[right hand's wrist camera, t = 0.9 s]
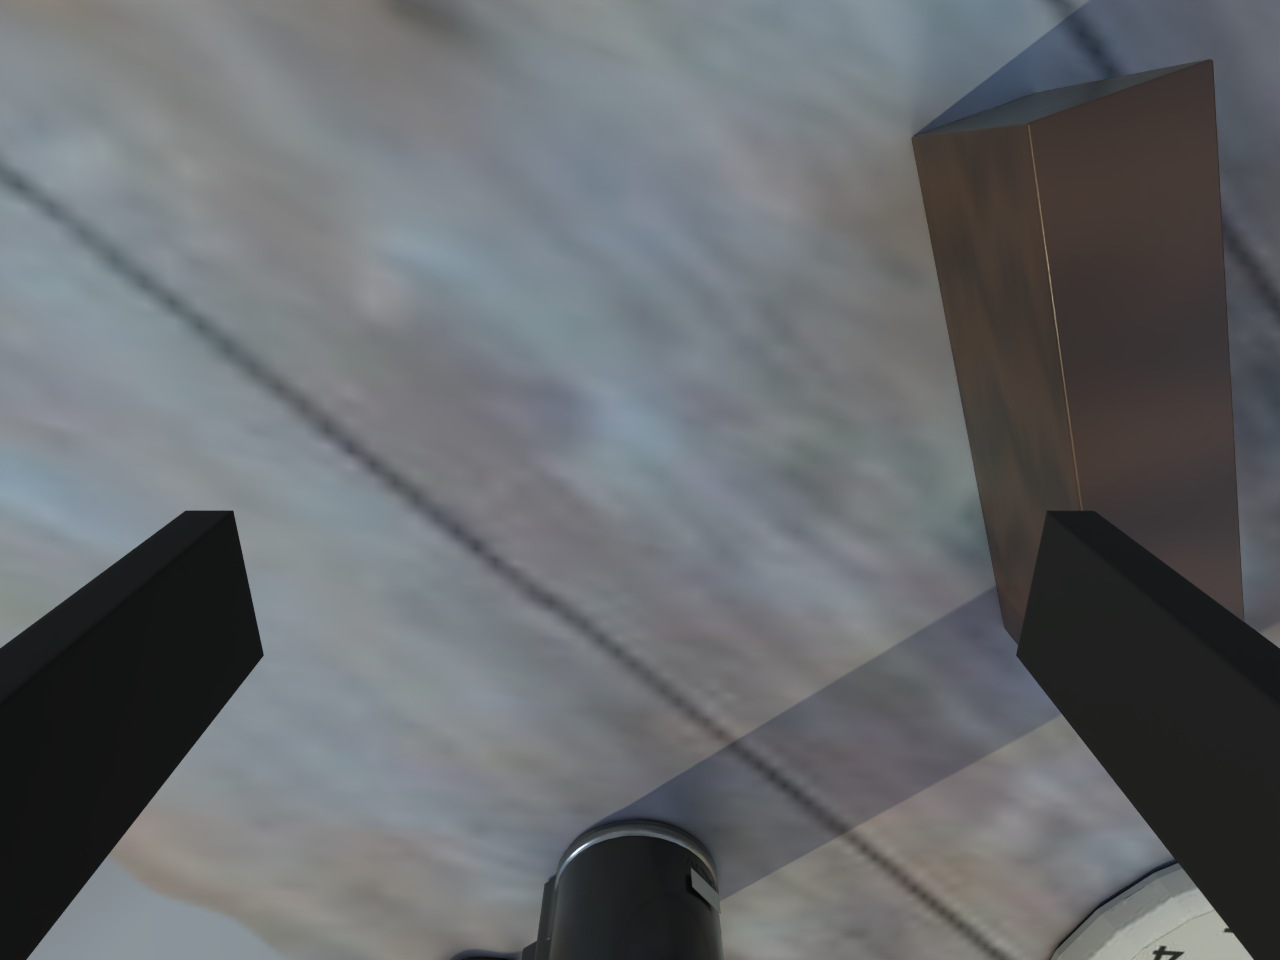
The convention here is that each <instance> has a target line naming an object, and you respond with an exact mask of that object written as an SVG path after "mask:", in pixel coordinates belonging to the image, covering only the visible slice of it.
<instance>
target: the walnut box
mask: <svg viewBox="0 0 1280 960" xmlns="http://www.w3.org/2000/svg"><path fill="white" fill-rule="evenodd" d="M912 143H913V148H914V154H915V159H916V164H917V169H918V175H919V180H920V185H921V191H922V196H923V201H924V206H925V212H926V217H927V222H928V227H929V233H930V238H931V243H932V248H933V254H934V259H935V264H936V270H937V275H938V280H939V285H940V291H941V296H942V301H943V306H944V312H945V317H946V322H947V327H948V333H949V338H950V343H951V349H952V354H953V359H954V364H955V370H956V375H957V380H958V385H959V391H960V396H961V401H962V406H963V412H964V417H965V422H966V428H967V433H968V438H969V443H970V449H971V454H972V459H973V464H974V470H975V475H976V480H977V486H978V491H979V496H980V501H981V507H982V512H983V517H984V522H985V528H986V533H987V538H988V543H989V549H990V554H991V559H992V565H993V570H994V575H995V580H996V586H997V591H998V596H999V601H1000V607H1001V612H1002V617H1003V622H1004V628H1005V629H1006V631H1007V632H1008V633H1009V634H1010V636H1011V637H1012V638H1013V639H1014V641H1015V642H1016V643H1017V644H1018V645H1019V640H1020V636H1021V631H1022V626H1023V621H1024V617H1025V612H1026V607H1027V602H1028V598H1029V593H1030V588H1031V583H1032V579H1033V574H1034V569H1035V564H1036V560H1037V555H1038V550H1039V545H1040V541H1041V536H1042V531H1043V526H1044V522H1045V517H1046V512H1047V511H1095V512H1097V513H1098V514H1099V515H1101V516H1102V517H1103V518H1105V519H1106V520H1107V521H1109V522H1110V523H1111V524H1113V525H1114V526H1116V527H1117V528H1118V529H1120V530H1121V531H1122V532H1124V533H1125V534H1126V535H1128V536H1129V537H1130V538H1132V539H1133V540H1134V541H1136V542H1137V543H1138V544H1140V545H1141V546H1142V547H1144V548H1145V549H1146V550H1148V551H1149V552H1151V553H1152V554H1153V555H1155V556H1156V557H1157V558H1159V559H1160V560H1161V561H1163V562H1164V563H1165V564H1167V565H1168V566H1169V567H1171V568H1172V569H1173V570H1175V571H1176V572H1177V573H1179V574H1180V575H1181V576H1183V577H1184V578H1185V579H1187V580H1188V581H1190V582H1191V583H1192V584H1194V585H1195V586H1196V587H1198V588H1199V589H1200V590H1202V591H1203V592H1204V593H1206V594H1207V595H1208V596H1210V597H1211V598H1212V599H1214V600H1215V601H1216V602H1218V603H1219V604H1220V605H1222V606H1223V607H1225V608H1226V609H1227V610H1229V611H1230V612H1231V613H1233V614H1234V615H1235V616H1237V617H1238V618H1239V619H1241V620H1242V621H1243V622H1244V609H1243V591H1242V573H1241V556H1240V538H1239V520H1238V502H1237V484H1236V466H1235V448H1234V430H1233V412H1232V394H1231V376H1230V359H1229V341H1228V323H1227V305H1226V287H1225V269H1224V251H1223V233H1222V215H1221V197H1220V180H1219V162H1218V144H1217V126H1216V108H1215V90H1214V72H1213V61H1212V60H1210V59H1208V60H1203V61H1198V62H1193V63H1187V64H1182V65H1177V66H1172V67H1167V68H1162V69H1156V70H1151V71H1146V72H1141V73H1136V74H1131V75H1125V76H1120V77H1115V78H1110V79H1105V80H1099V81H1094V82H1089V83H1084V84H1079V85H1074V86H1068V87H1063V88H1058V89H1053V90H1048V91H1043V92H1037V93H1034V94H1031V95H1028V96H1026V97H1023V98H1020V99H1017V100H1014V101H1011V102H1009V103H1006V104H1003V105H1000V106H997V107H994V108H992V109H989V110H986V111H983V112H980V113H978V114H975V115H972V116H969V117H966V118H963V119H961V120H958V121H955V122H952V123H949V124H946V125H944V126H941V127H938V128H935V129H932V130H929V131H927V132H924V133H921V134H918V135H915V136H913V137H912Z"/></svg>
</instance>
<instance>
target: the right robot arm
mask: <svg viewBox="0 0 1280 960" xmlns="http://www.w3.org/2000/svg"><path fill="white" fill-rule="evenodd" d="M263 656H264V655H263V650H262V645H261V640H260V636H259V631H258V626H257V621H256V617H255V612H254V607H253V602H252V598H251V593H250V588H249V583H248V579H247V574H246V569H245V564H244V560H243V555H242V550H241V545H240V541H239V536H238V531H237V526H236V522H235V517H234V512H233V511H185V512H183V513H182V514H181V515H179V516H178V517H177V518H175V519H174V520H173V521H171V522H170V523H169V524H167V525H166V526H164V527H163V528H162V529H160V530H159V531H158V532H156V533H155V534H154V535H152V536H151V537H150V538H148V539H147V540H146V541H144V542H143V543H142V544H140V545H139V546H138V547H136V548H135V549H134V550H132V551H131V552H129V553H128V554H127V555H125V556H124V557H123V558H121V559H120V560H119V561H117V562H116V563H115V564H113V565H112V566H111V567H109V568H108V569H107V570H105V571H104V572H103V573H101V574H100V575H99V576H97V577H96V578H95V579H93V580H92V581H90V582H89V583H88V584H86V585H85V586H84V587H82V588H81V589H80V590H78V591H77V592H76V593H74V594H73V595H72V596H70V597H69V598H68V599H66V600H65V601H64V602H62V603H61V604H60V605H58V606H57V607H55V608H54V609H53V610H51V611H50V612H49V613H47V614H46V615H45V616H43V617H42V618H41V619H39V620H38V621H37V622H35V623H34V624H33V625H31V626H30V627H29V628H27V629H26V630H25V631H23V632H22V633H20V634H19V635H18V636H16V637H15V638H14V639H12V640H11V641H10V642H8V643H7V644H6V645H4V646H3V647H2V648H0V960H26V959H27V958H28V957H29V956H30V954H31V953H32V952H33V950H34V949H35V948H36V947H37V945H38V944H39V943H40V941H41V940H42V939H43V938H44V936H45V935H46V934H47V932H48V931H49V930H50V929H51V927H52V926H53V925H54V923H55V922H56V921H57V920H58V918H59V917H60V916H61V915H62V913H63V912H64V911H65V909H66V908H67V907H68V906H69V904H70V903H71V902H72V900H73V899H74V898H75V897H76V895H77V894H78V893H79V891H80V890H81V889H82V888H83V886H84V885H85V884H86V883H87V881H88V880H89V879H90V877H91V876H92V875H93V873H94V872H95V871H96V870H97V868H98V867H99V866H100V865H101V863H102V862H103V861H104V859H105V858H106V857H107V856H108V854H109V853H110V852H111V850H112V849H113V848H114V847H115V845H116V844H117V843H118V841H119V840H120V839H121V838H122V836H123V835H124V834H125V833H126V831H127V830H128V829H129V827H130V826H131V825H132V824H133V822H134V821H135V820H136V818H137V817H138V816H139V815H140V813H141V812H142V811H143V809H144V808H145V807H146V806H147V804H148V803H149V802H150V800H151V799H152V798H153V797H154V795H155V794H156V793H157V792H158V790H159V789H160V788H161V786H162V785H163V784H164V783H165V781H166V780H167V779H168V777H169V776H170V775H171V774H172V772H173V771H174V770H175V768H176V767H177V766H178V765H179V763H180V762H181V761H182V759H183V758H184V757H185V756H186V754H187V753H188V752H189V750H190V749H191V748H192V747H193V745H194V744H195V743H196V742H197V740H198V739H199V738H200V736H201V735H202V734H203V733H204V731H205V730H206V729H207V727H208V726H209V725H210V724H211V722H212V721H213V720H214V718H215V717H216V716H217V715H218V713H219V712H220V711H221V709H222V708H223V707H224V706H225V704H226V703H227V702H228V701H229V699H230V698H231V697H232V695H233V694H234V693H235V692H236V690H237V689H238V688H239V686H240V685H241V684H242V683H243V681H244V680H245V679H246V677H247V676H248V675H249V674H250V672H251V671H252V670H253V668H254V667H255V666H256V665H257V663H258V662H259V661H260V659H261V658H262V657H263ZM1016 656H1017V657H1018V658H1019V659H1020V661H1021V662H1022V663H1023V665H1024V666H1025V667H1026V668H1027V670H1028V671H1029V672H1030V674H1031V675H1032V676H1033V677H1034V679H1035V680H1036V681H1037V683H1038V684H1039V685H1040V686H1041V688H1042V689H1043V690H1044V692H1045V693H1046V694H1047V695H1048V697H1049V698H1050V699H1051V701H1052V702H1053V703H1054V704H1055V706H1056V707H1057V708H1058V709H1059V711H1060V712H1061V713H1062V715H1063V716H1064V717H1065V718H1066V720H1067V721H1068V722H1069V724H1070V725H1071V726H1072V727H1073V729H1074V730H1075V731H1076V733H1077V734H1078V735H1079V736H1080V738H1081V739H1082V740H1083V742H1084V743H1085V744H1086V745H1087V747H1088V748H1089V749H1090V750H1091V752H1092V753H1093V754H1094V756H1095V757H1096V758H1097V759H1098V761H1099V762H1100V763H1101V765H1102V766H1103V767H1104V768H1105V770H1106V771H1107V772H1108V774H1109V775H1110V776H1111V777H1112V779H1113V780H1114V781H1115V783H1116V784H1117V785H1118V786H1119V788H1120V789H1121V790H1122V792H1123V793H1124V794H1125V795H1126V797H1127V798H1128V799H1129V800H1130V802H1131V803H1132V804H1133V806H1134V807H1135V808H1136V809H1137V811H1138V812H1139V813H1140V815H1141V816H1142V817H1143V818H1144V820H1145V821H1146V822H1147V824H1148V825H1149V826H1150V827H1151V829H1152V830H1153V831H1154V833H1155V834H1156V835H1157V836H1158V838H1159V839H1160V840H1161V841H1162V843H1163V844H1164V845H1165V847H1166V848H1167V849H1168V850H1169V852H1170V853H1171V854H1172V856H1173V857H1174V858H1175V859H1176V861H1177V862H1178V863H1179V865H1180V866H1181V867H1182V868H1183V870H1184V871H1185V872H1186V874H1187V875H1188V876H1189V877H1190V879H1191V880H1192V881H1193V883H1194V884H1195V885H1196V886H1197V888H1198V889H1199V890H1200V891H1201V893H1202V894H1203V895H1204V897H1205V898H1206V899H1207V900H1208V902H1209V903H1210V904H1211V906H1212V907H1213V908H1214V909H1215V911H1216V912H1217V913H1218V915H1219V916H1220V917H1221V918H1222V920H1223V921H1224V922H1225V924H1226V925H1227V926H1228V927H1229V929H1230V930H1231V931H1232V932H1233V934H1234V935H1235V936H1236V938H1237V939H1238V940H1239V941H1240V943H1241V944H1242V945H1243V947H1244V948H1245V949H1246V950H1247V952H1248V953H1249V954H1250V956H1251V957H1252V958H1253V959H1254V960H1280V648H1278V647H1277V646H1276V645H1274V644H1273V643H1272V642H1270V641H1269V640H1268V639H1266V638H1265V637H1264V636H1262V635H1261V634H1259V633H1258V632H1257V631H1255V630H1254V629H1253V628H1251V627H1250V626H1249V625H1247V624H1246V623H1245V622H1243V621H1242V620H1241V619H1239V618H1238V617H1237V616H1235V615H1234V614H1233V613H1231V612H1230V611H1229V610H1227V609H1226V608H1225V607H1223V606H1222V605H1220V604H1219V603H1218V602H1216V601H1215V600H1214V599H1212V598H1211V597H1210V596H1208V595H1207V594H1206V593H1204V592H1203V591H1202V590H1200V589H1199V588H1198V587H1196V586H1195V585H1194V584H1192V583H1191V582H1190V581H1188V580H1187V579H1185V578H1184V577H1183V576H1181V575H1180V574H1179V573H1177V572H1176V571H1175V570H1173V569H1172V568H1171V567H1169V566H1168V565H1167V564H1165V563H1164V562H1163V561H1161V560H1160V559H1159V558H1157V557H1156V556H1155V555H1153V554H1152V553H1151V552H1149V551H1148V550H1146V549H1145V548H1144V547H1142V546H1141V545H1140V544H1138V543H1137V542H1136V541H1134V540H1133V539H1132V538H1130V537H1129V536H1128V535H1126V534H1125V533H1124V532H1122V531H1121V530H1120V529H1118V528H1117V527H1116V526H1114V525H1113V524H1111V523H1110V522H1109V521H1107V520H1106V519H1105V518H1103V517H1102V516H1101V515H1099V514H1098V513H1097V512H1095V511H1047V512H1046V517H1045V522H1044V526H1043V531H1042V536H1041V541H1040V545H1039V550H1038V555H1037V560H1036V564H1035V569H1034V574H1033V579H1032V583H1031V588H1030V593H1029V598H1028V602H1027V607H1026V612H1025V617H1024V621H1023V626H1022V631H1021V636H1020V640H1019V645H1018V650H1017V655H1016Z"/></svg>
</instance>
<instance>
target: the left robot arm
mask: <svg viewBox="0 0 1280 960" xmlns="http://www.w3.org/2000/svg"><path fill="white" fill-rule="evenodd" d="M719 913H720V914H721V912H720V902H719V891H718V882H717V873H716V868H715V865H714V862H713V860H712V858H711V856H710V855H709V853H708V852H707V850H706V849H705V848H704V847H703V846H702V845H701V844H700V843H699V842H698V841H697V840H696V839H695V838H693V837H692V836H690V835H689V834H687V833H686V832H684V831H682V830H680V829H678V828H675V827H672V826H670V825H666V824H663V823H658V822H653V821H644V820H628V821H620V822H614V823H610V824H606V825H603V826H600V827H598V828H595V829H593V830H591V831H589V832H587V833H586V834H584V835H583V836H581V837H580V838H578V839H577V840H576V841H575V842H574V843H573V844H572V845H571V846H570V847H569V848H568V849H567V850H566V851H565V853H564V855H563V856H562V858H561V860H560V862H559V865H558V868H557V873H556V877H555V878H553V879H552V880H551V881H549V882H547V883H546V884H545V885H544V893H543V900H542V908H541V915H540V923H539V930H538V938H537V941H536V942H534V943H532V944H531V945H529V946H527V947H525V948H524V949H523V954H522V960H724V955H723V946H722V936H721V927H720V918H719ZM463 960H505V959H497V958H484V957H476V958H468V959H463Z"/></svg>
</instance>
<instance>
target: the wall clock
mask: <svg viewBox="0 0 1280 960" xmlns="http://www.w3.org/2000/svg"><path fill="white" fill-rule="evenodd" d="M1051 960H1254V959H1253V958H1252V957H1251V956H1250V954H1249V953H1248V952H1247V950H1246V949H1245V948H1244V947H1243V945H1242V944H1241V943H1240V941H1239V940H1238V939H1237V938H1236V936H1235V935H1234V934H1233V932H1232V931H1231V930H1230V929H1229V927H1228V926H1227V925H1226V924H1225V922H1224V921H1223V920H1222V918H1221V917H1220V916H1219V915H1218V913H1217V912H1216V911H1215V909H1214V908H1213V907H1212V906H1211V904H1210V903H1209V902H1208V900H1207V899H1206V898H1205V897H1204V895H1203V894H1202V893H1201V891H1200V890H1199V889H1198V888H1197V886H1196V885H1195V884H1194V883H1193V881H1192V880H1191V879H1190V877H1189V876H1188V875H1187V874H1186V872H1185V871H1184V870H1183V868H1182V867H1181V866H1180V865H1179V863H1177V864H1174V865H1172V866H1170V867H1167V868H1165V869H1162V870H1160V871H1157V872H1155V873H1153V874H1152V875H1150V876H1148V877H1147V878H1145V879H1144V880H1142V881H1141V882H1139V883H1138V884H1136V885H1134V886H1133V887H1131V888H1130V889H1128V890H1127V891H1125V892H1124V893H1122V894H1120V895H1119V896H1117V897H1116V898H1114V899H1113V900H1111V901H1109V902H1108V903H1106V904H1105V905H1103V906H1102V907H1100V908H1099V909H1097V910H1096V911H1095V912H1094V913H1093V914H1092V915H1091V916H1090V917H1089V918H1088V919H1087V920H1086V921H1085V922H1084V923H1083V924H1082V925H1081V926H1080V927H1079V928H1078V929H1077V930H1076V931H1075V932H1074V933H1073V934H1072V935H1071V936H1070V937H1069V938H1068V939H1067V940H1066V941H1065V942H1064V943H1063V944H1062V945H1061V946H1060V947H1059V948H1058V949H1057V950H1056V951H1055V953H1054V955H1053V956H1052V958H1051Z"/></svg>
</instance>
